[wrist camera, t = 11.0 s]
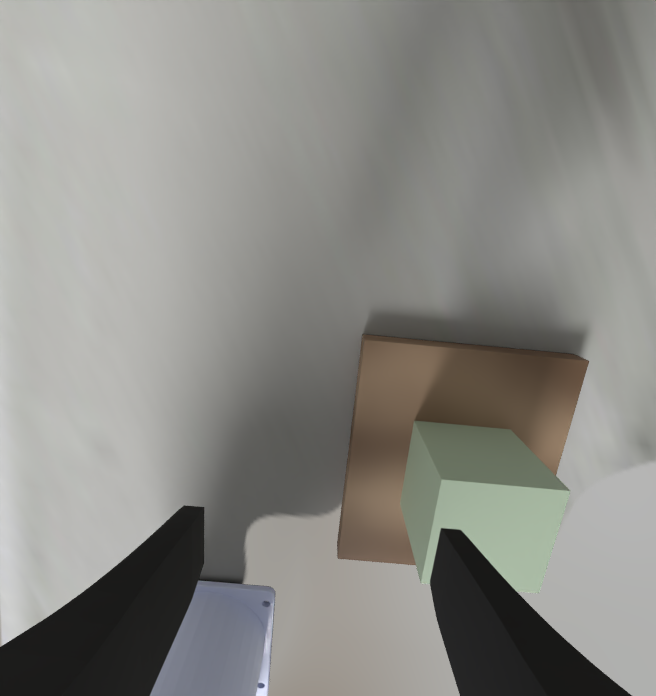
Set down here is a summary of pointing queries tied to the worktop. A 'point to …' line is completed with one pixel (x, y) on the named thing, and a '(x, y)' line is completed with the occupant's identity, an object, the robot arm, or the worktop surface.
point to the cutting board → (441, 407)
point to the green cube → (482, 499)
